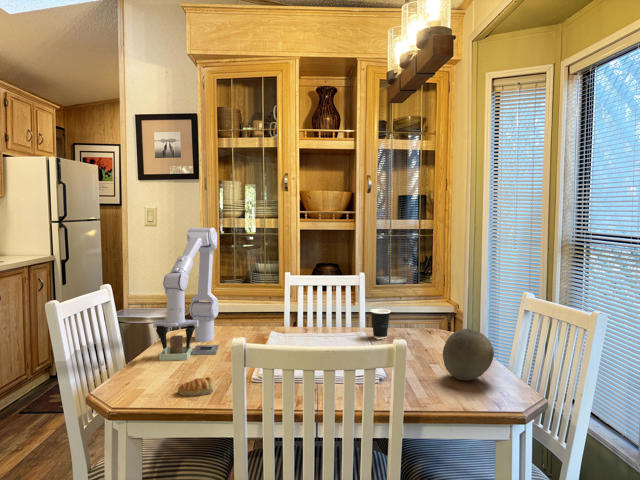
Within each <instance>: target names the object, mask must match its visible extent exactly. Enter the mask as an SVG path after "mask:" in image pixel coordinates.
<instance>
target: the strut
mask: <svg viewBox="0 0 640 480" xmlns="http://www.w3.org/2000/svg"><path fill="white" fill-rule="evenodd" d="M183 338H184V337H183V334H181V335H177V334H176V335H175V334H174V335H172V336H171V337H170V338H169V347H170V353H169V354H184V353H183V344H184V341H183Z"/></svg>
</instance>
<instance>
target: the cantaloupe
mask: <svg viewBox="0 0 640 480" xmlns="http://www.w3.org/2000/svg"><path fill="white" fill-rule="evenodd" d="M494 353H495V351H494V347H493V345H492V342H491V341H490V340H489V338H488V337H487V336H486V335H484V333H482V332H480V331H477V330H475V329H471V328H461V329H458V330H456V331H454V332H453V333H452V334H451V335H449V337H448V338H447V339H446V341H445V344H444V346H443V349H442V359H443V360H442V361H443V364H444V367H445V370H446V371H447V372H448V373H449V374H450V376H452V377H454V378H455V379H457V380H459V381H463V382H464V381H473V380H476V379H479V378H480V377H482V376H483V375H484V374H485V373H486V372H487V371H488V370H489V368H490V367H491V365H492V362H493V360H494V355H495V354H494Z"/></svg>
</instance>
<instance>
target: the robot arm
mask: <svg viewBox="0 0 640 480" xmlns="http://www.w3.org/2000/svg"><path fill="white" fill-rule="evenodd" d="M186 233H187V234H186V240H187V243H186V245H185V249H184V251H183V253H182V255H180V256H178V257H177V259H176V261H175V263H174V265H173V266H172V268H171V271H170V272H168V273H167V274H165V275H164V277H163V280H162V285H163V288H164V294H165V295H166V319H163V320H154V321H153V322H152V323H153V325H152V326H153V328H154V329H155V328H156V330H155V332H156V333H157V335H158V337H159V339H160V341H161V345H162V346H161V347H162V349H163V350H164V349H165V348H166V347H168V345H167V344H168V343H167V330H168V329H167V328H185V327H186V328H185V337H186V339H185V340H186V343H185V346H186V349H187V348H189V347H190V346H191V339H192V337H193V334H194V341H195V342H198V343H205V342H206V343H207V342H211V341H214V340H215V319H216V318H217V317H218V314H219V311H220V307H219V299H218V298H217V297H216V296H215V295H214V294H213V293H212V284H213V283H212V282H213V281H212V280H213V263H214V251H215V250H217V248H218V247H217V246H218V232H217V230H216V229H215V227H189V229H188V230H187V232H186ZM197 252H199V263H198V264H199V265H198V280H197V281H198V283H197V284H198V285H197V293H196V294H195V295H194V296H193V297H191V300H190V301H191V302H190V304H189V310H188V311H189V315H190V317H191V318H192V319H186V317H185V314H186V313H185V312H186V311H185V310H186V309H185V307H186V305H185V302H186V301H185V298H186V297H185V296H186V294H185V290H186V289H187V287H188V284H189V278H190V277H189V275H190V273H191V270H192V268H193V266H194V262H193V259H194V258H195V255H197Z"/></svg>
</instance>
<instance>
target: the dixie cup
mask: <svg viewBox="0 0 640 480" xmlns="http://www.w3.org/2000/svg"><path fill="white" fill-rule="evenodd" d="M370 313H371V323H372V333H373V334H372V335H373V338H374V337H375V338H386V339H387V336H388V329H389V323H390V322H389V321H390V313H391V310H389V309H386V308H373V309H370ZM375 338H374V339H375Z"/></svg>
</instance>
